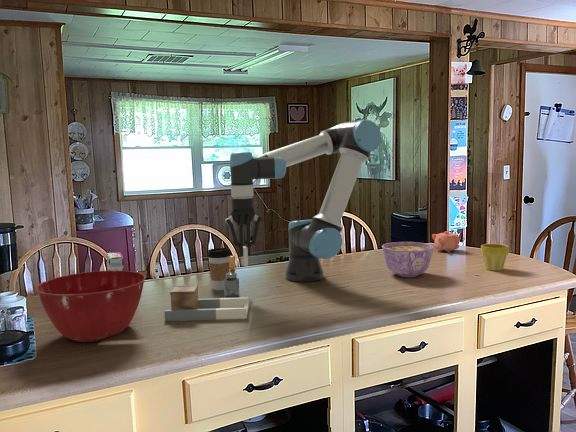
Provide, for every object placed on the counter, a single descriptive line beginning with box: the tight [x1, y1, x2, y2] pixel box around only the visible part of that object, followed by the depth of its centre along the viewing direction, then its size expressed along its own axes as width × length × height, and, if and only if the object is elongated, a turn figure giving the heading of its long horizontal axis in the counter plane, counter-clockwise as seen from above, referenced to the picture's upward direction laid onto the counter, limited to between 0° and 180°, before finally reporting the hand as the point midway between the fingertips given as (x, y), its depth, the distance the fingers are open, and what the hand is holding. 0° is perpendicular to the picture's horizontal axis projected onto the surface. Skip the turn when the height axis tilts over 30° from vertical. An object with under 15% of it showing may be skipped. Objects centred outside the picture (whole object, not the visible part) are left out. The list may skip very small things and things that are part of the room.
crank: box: [226, 255, 238, 280], centre depth 171 cm, size 9×4×6 cm, turn 1°
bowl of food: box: [381, 241, 435, 278], centre depth 201 cm, size 20×20×12 cm
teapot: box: [431, 230, 461, 254], centre depth 246 cm, size 12×12×10 cm
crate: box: [169, 284, 199, 310], centre depth 155 cm, size 7×7×8 cm
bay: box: [164, 296, 250, 322], centre depth 155 cm, size 24×12×4 cm, turn 91°
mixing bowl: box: [35, 270, 146, 343], centre depth 142 cm, size 28×28×15 cm
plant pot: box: [480, 243, 510, 272], centre depth 207 cm, size 10×10×10 cm
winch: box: [219, 277, 247, 298], centre depth 169 cm, size 9×9×8 cm
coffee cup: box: [207, 247, 231, 291], centre depth 187 cm, size 8×8×15 cm
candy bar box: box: [106, 251, 125, 271], centre depth 173 cm, size 11×5×16 cm, turn 23°
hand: (244, 265), depth 176 cm, fingers closed
